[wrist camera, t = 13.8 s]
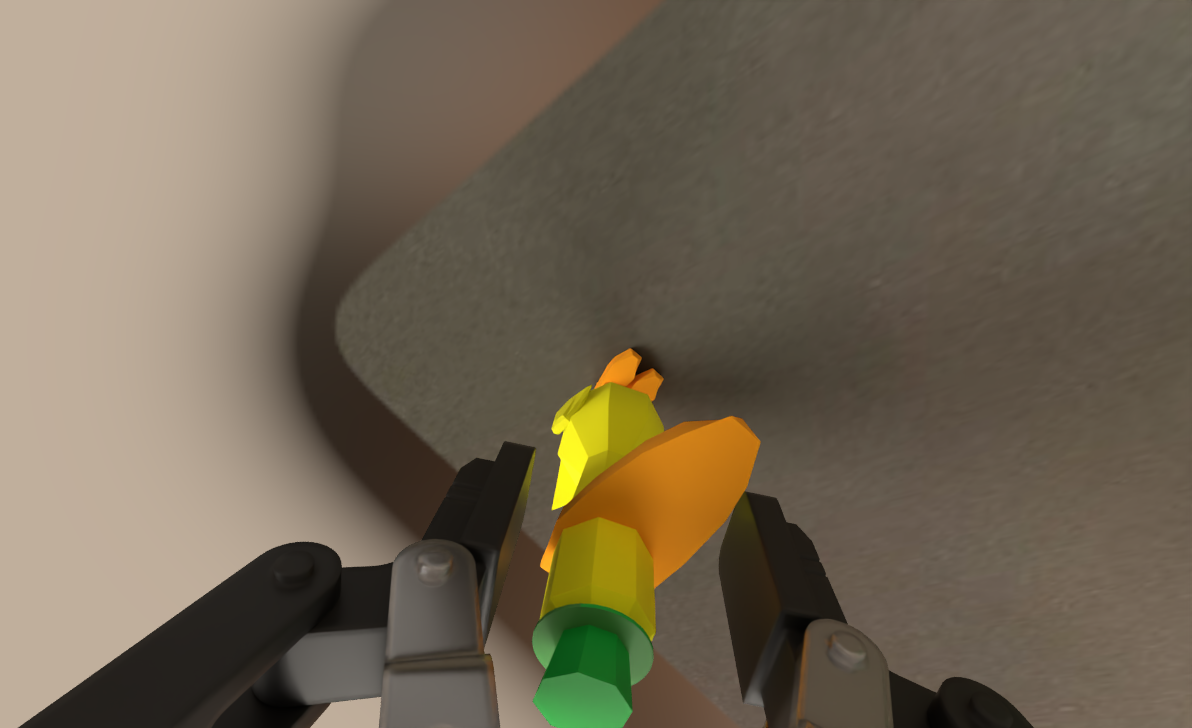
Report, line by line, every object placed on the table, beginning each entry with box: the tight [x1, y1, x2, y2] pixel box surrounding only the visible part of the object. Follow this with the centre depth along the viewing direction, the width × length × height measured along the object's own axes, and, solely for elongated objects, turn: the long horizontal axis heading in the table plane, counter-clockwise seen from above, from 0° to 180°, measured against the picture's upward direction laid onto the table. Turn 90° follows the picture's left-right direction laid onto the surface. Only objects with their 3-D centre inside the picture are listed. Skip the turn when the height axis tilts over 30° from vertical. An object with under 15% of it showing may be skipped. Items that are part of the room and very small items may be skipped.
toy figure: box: [532, 348, 760, 728], centre depth 14 cm, size 7×4×12 cm, turn 139°
